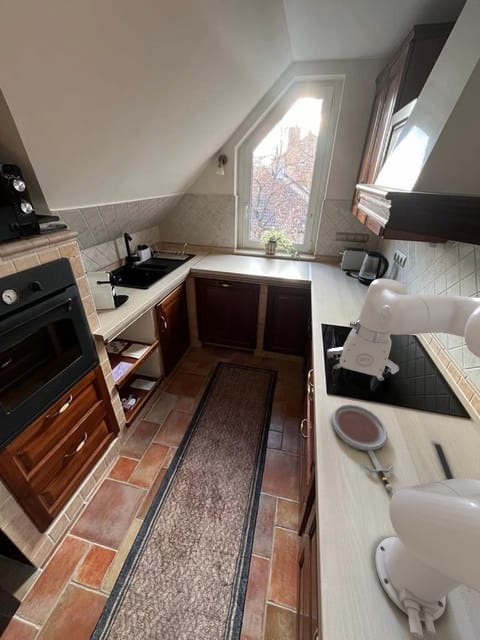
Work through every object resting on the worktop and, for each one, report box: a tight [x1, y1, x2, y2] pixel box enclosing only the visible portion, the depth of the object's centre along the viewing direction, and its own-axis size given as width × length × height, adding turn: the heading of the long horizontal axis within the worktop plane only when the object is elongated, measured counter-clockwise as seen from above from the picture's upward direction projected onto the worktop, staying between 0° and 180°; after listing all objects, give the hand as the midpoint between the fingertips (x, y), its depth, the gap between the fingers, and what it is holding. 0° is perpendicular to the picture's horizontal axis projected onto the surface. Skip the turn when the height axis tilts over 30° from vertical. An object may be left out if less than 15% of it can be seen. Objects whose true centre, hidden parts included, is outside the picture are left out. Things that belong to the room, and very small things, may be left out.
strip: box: [434, 443, 454, 480], centre depth 75 cm, size 12×2×1 cm, turn 161°
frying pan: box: [331, 403, 394, 492], centre depth 79 cm, size 17×3×28 cm
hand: (352, 382), depth 69 cm, fingers open, 9 cm apart
